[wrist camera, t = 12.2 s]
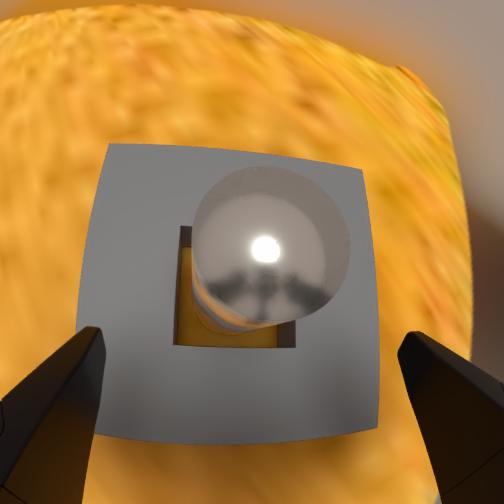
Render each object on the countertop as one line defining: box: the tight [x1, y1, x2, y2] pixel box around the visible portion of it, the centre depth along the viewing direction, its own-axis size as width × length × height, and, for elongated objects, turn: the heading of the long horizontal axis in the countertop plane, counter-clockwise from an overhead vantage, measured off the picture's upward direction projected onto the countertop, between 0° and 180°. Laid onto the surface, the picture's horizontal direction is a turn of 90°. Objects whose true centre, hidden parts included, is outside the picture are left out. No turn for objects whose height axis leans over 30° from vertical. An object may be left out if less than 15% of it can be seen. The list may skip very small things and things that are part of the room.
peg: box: [192, 166, 351, 335], centre depth 13 cm, size 4×4×11 cm
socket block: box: [76, 143, 379, 445], centre depth 17 cm, size 16×16×4 cm
